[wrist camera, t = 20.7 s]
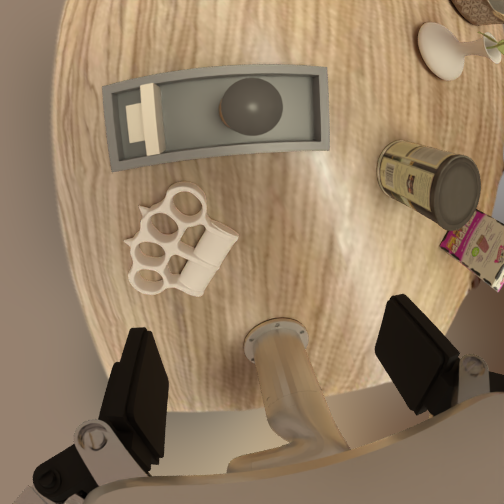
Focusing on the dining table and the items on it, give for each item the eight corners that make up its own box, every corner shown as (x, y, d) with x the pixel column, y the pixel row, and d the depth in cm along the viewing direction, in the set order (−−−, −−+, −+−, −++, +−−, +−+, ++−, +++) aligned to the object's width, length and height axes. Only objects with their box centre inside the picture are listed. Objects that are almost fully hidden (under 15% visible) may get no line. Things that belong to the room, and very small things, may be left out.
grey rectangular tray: (319, 147, 38) (329, 150, 34) (120, 167, 35) (111, 172, 32) (316, 70, 32) (327, 67, 29) (111, 88, 30) (102, 86, 26)
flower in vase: (455, 40, 30) (560, 40, 8) (454, 89, 35) (566, 108, 13) (404, 9, 27) (518, -17, 5) (403, 63, 32) (533, 59, 10)
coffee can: (428, 182, 42) (484, 209, 30) (387, 209, 44) (440, 245, 31) (412, 129, 38) (474, 143, 25) (367, 155, 39) (426, 176, 27)
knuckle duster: (192, 302, 47) (113, 266, 42) (249, 212, 41) (159, 164, 36) (192, 315, 44) (107, 277, 39) (252, 220, 38) (154, 168, 33)
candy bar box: (448, 254, 51) (498, 294, 36) (438, 246, 49) (490, 287, 35) (472, 211, 47) (525, 243, 32) (462, 200, 45) (520, 233, 31)
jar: (264, 129, 35) (284, 134, 26) (219, 133, 34) (223, 138, 25) (261, 87, 32) (281, 77, 23) (216, 90, 31) (219, 79, 22)
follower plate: (166, 149, 34) (159, 153, 29) (133, 155, 33) (122, 160, 29) (160, 87, 30) (152, 82, 25) (126, 94, 29) (115, 91, 25)
